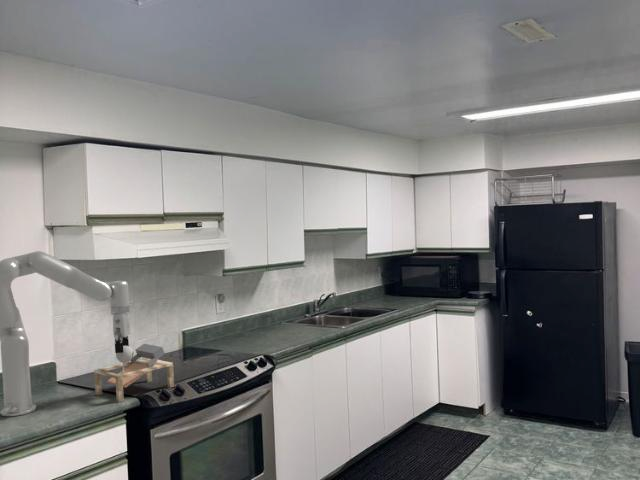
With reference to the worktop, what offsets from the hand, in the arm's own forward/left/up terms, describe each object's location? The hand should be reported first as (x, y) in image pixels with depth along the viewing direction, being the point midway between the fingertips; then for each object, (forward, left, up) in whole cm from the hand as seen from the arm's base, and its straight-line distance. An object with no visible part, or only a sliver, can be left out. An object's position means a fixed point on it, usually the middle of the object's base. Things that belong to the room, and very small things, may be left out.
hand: (122, 350), depth 250 cm
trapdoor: (+5, -5, -10) cm, 12 cm away
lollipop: (-4, 0, -12) cm, 13 cm away
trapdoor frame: (+4, -4, -19) cm, 19 cm away
